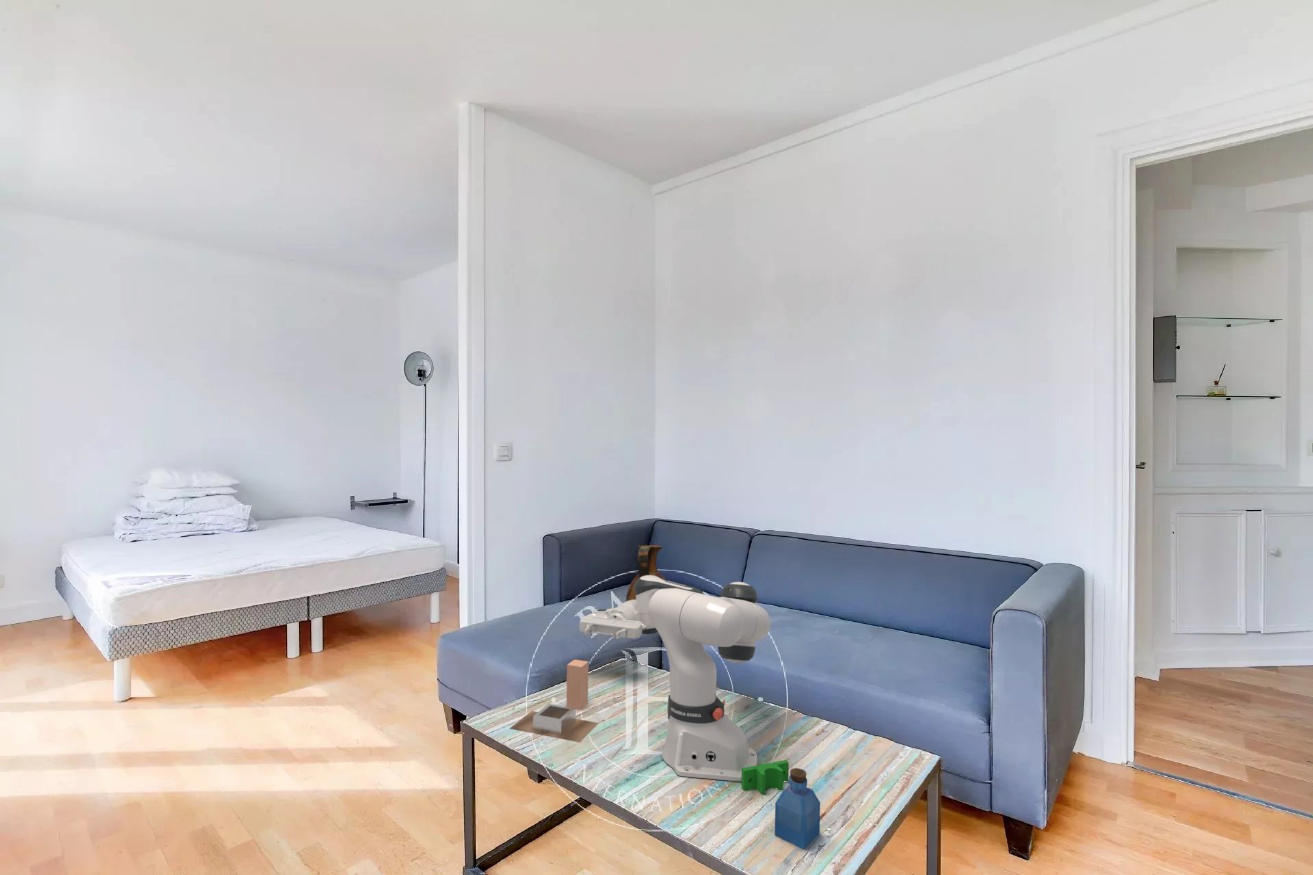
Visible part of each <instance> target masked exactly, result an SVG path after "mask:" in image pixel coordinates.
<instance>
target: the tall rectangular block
mask: <svg viewBox="0 0 1313 875" xmlns="http://www.w3.org/2000/svg"><path fill="white" fill-rule="evenodd" d="M587 705H589V661H586V660H579V659H573V660H572V661H570V662H569V663H568V664H567V665H566V706H565V707H571V708H576V711H582V710H583V709H584V708H585V707H586V706H587Z"/></svg>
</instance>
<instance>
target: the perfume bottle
mask: <svg viewBox="0 0 1313 875" xmlns="http://www.w3.org/2000/svg"><path fill="white" fill-rule="evenodd" d="M807 773H808V772H806V770H804V769H802V768H799V767H795V768H791V769H790V770H789V777H788V784H789V785H787V787H784V788H783V791H781V793H780V794H779V797H778V798H777V799H776V801H775V806H774V836H775V837H777V838H779V839H781V840H783V841H785V842H787V843H789V844H791V845H793V846H795V847H797V848H799V849H801V850H803V851H804V850H806V848H808V847H809V845H811V844H812V843H813V842H814V840H816V839H817V838H818V837H819V836H820V832H821V830H820V829H821V827H820V825H821V824H820V823H821V801H820V800H819V798H818V797H817V795H816V793H815V791H814V790H813V789H812V788H810V787H808V778H807V776H808V774H807Z"/></svg>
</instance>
